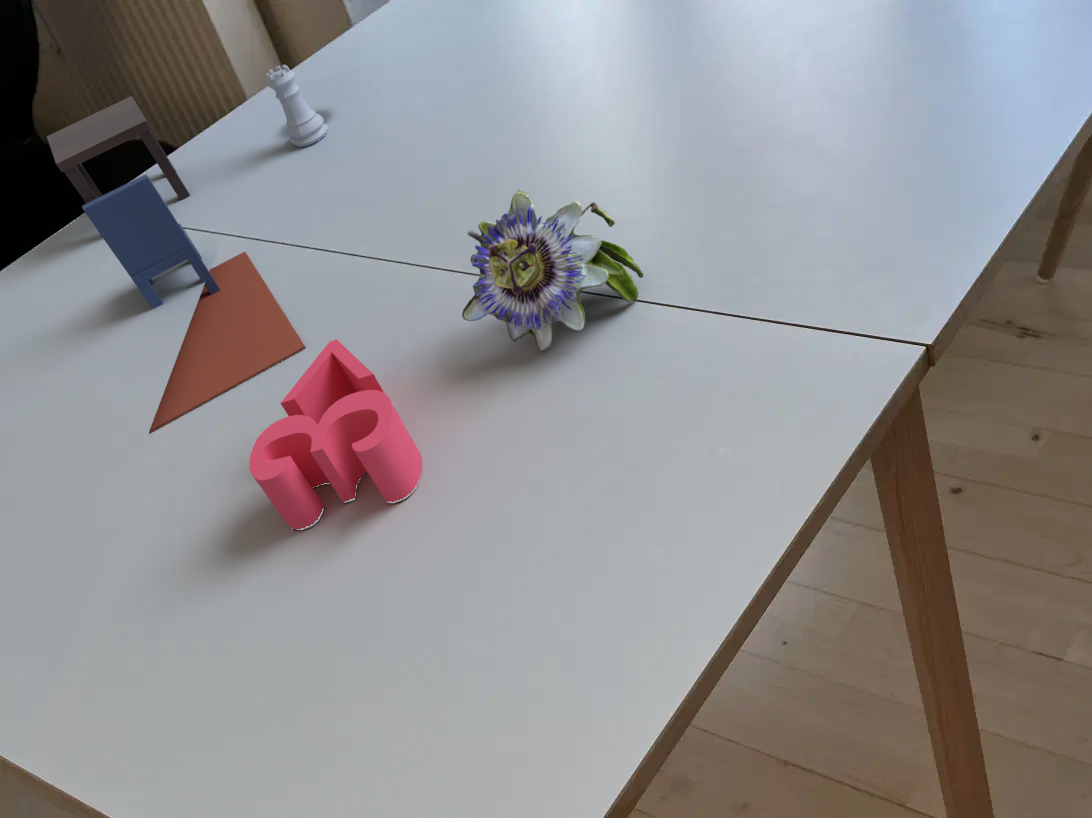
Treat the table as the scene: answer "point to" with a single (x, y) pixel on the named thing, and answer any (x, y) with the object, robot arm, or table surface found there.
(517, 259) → the passion flower
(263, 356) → the flat trapezoid
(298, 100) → the rook chess piece
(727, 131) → the table surface
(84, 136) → the side table
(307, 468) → the letters
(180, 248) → the chair
